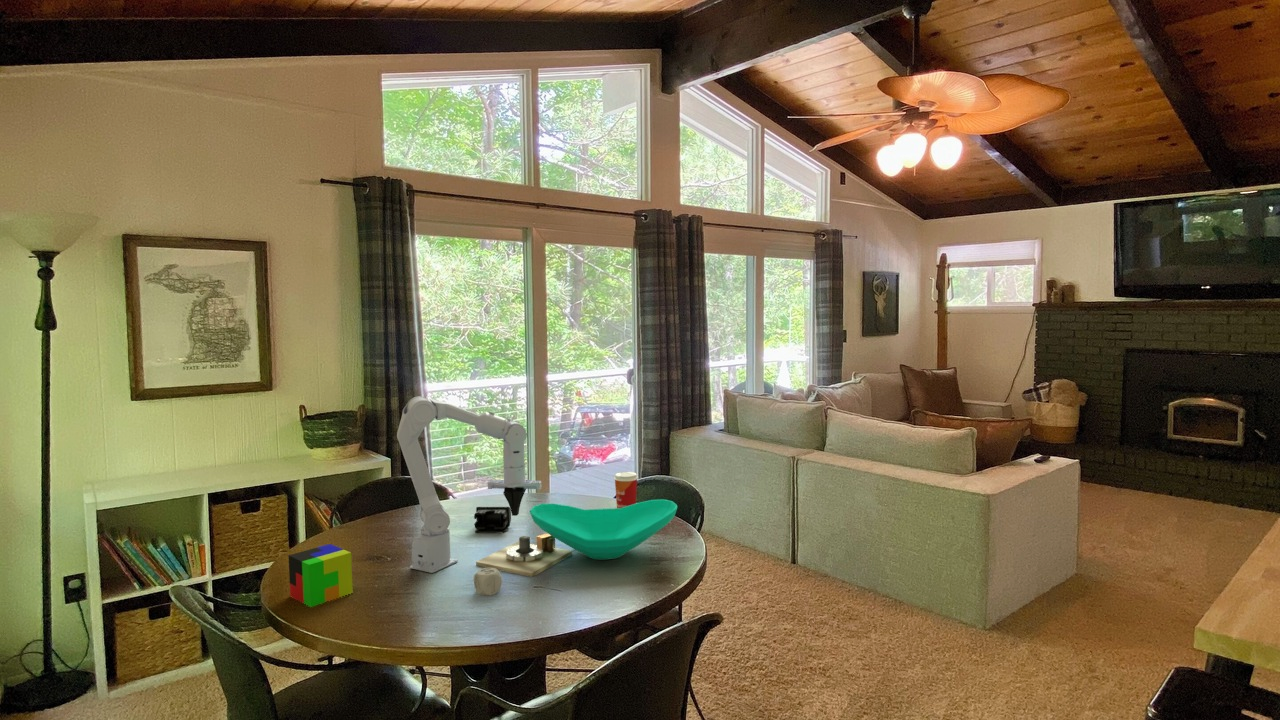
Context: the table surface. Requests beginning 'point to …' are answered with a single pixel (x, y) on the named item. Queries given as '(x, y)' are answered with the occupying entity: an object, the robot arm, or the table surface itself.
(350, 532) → the table surface
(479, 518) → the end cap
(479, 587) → the die
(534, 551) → the flange
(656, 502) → the table top decor
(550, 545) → the dowel
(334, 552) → the puzzle toy
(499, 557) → the board
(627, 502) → the paper cup
